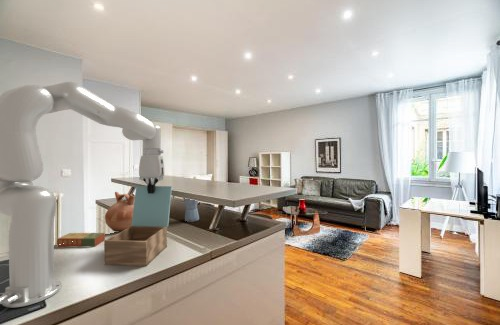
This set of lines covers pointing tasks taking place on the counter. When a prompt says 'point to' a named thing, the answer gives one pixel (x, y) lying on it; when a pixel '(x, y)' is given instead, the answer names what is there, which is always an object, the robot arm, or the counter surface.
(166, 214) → the lid
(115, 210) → the jug
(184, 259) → the counter surface
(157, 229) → the walnut box
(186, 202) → the moka pot
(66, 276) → the counter surface
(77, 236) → the carton
